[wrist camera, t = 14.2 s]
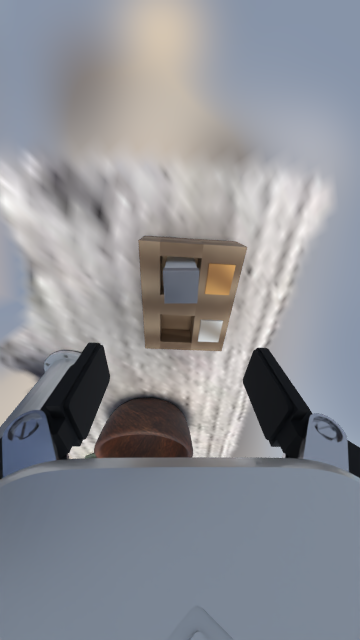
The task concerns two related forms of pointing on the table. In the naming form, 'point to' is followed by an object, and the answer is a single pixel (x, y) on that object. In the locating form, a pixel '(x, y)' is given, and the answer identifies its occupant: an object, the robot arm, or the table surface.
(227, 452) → the table surface
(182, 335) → the socket block
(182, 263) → the plug
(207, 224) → the table surface
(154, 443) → the wooden bowl
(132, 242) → the table surface
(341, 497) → the robot arm
